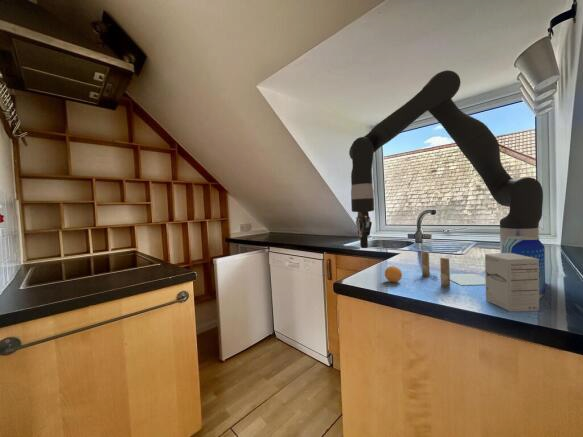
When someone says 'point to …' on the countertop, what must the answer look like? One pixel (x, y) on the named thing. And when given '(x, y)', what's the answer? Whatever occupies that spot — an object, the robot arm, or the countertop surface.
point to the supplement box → (512, 281)
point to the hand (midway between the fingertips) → (364, 247)
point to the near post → (445, 272)
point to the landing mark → (467, 279)
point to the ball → (393, 274)
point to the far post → (425, 263)
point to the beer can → (528, 253)
